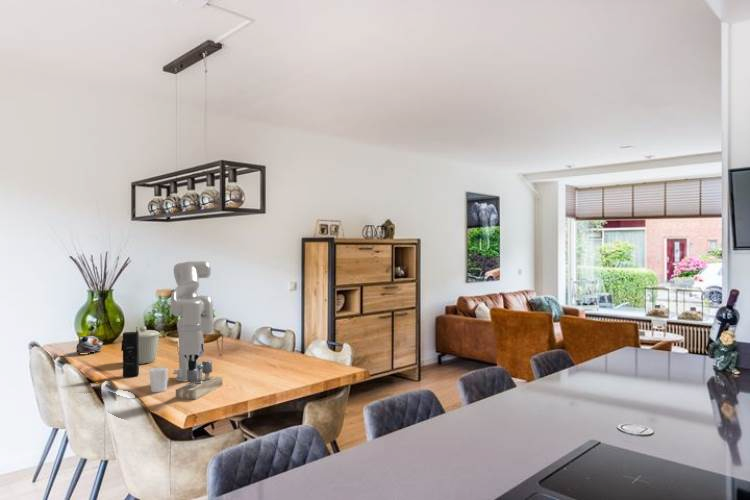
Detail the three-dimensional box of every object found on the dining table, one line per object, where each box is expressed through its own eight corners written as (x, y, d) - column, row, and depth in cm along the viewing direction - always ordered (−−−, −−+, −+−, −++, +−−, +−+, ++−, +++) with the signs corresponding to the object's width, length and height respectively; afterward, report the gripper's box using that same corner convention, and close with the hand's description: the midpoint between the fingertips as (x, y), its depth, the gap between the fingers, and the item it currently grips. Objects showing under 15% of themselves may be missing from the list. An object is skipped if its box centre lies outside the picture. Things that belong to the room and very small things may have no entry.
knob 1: (185, 391, 216) (184, 370, 216) (190, 388, 220) (190, 367, 220) (193, 392, 215) (193, 370, 215) (199, 389, 219) (199, 368, 219)
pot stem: (195, 383, 222) (195, 365, 222) (198, 381, 225) (198, 364, 225) (201, 383, 222) (200, 366, 222) (204, 382, 225) (204, 364, 225)
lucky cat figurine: (104, 349, 318) (108, 332, 314) (97, 360, 308) (100, 343, 303) (80, 344, 315) (83, 326, 310) (71, 355, 304) (74, 337, 299)
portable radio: (120, 378, 248) (119, 329, 248) (123, 375, 254) (122, 327, 254) (137, 376, 250) (136, 328, 250) (139, 373, 256) (139, 326, 256)
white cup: (170, 387, 230) (170, 366, 230) (164, 392, 222) (164, 371, 222) (154, 388, 230) (153, 367, 230) (146, 393, 222) (146, 371, 222)
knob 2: (200, 382, 228) (200, 362, 228) (205, 379, 232) (205, 359, 232) (208, 382, 227) (208, 362, 227) (213, 380, 231) (213, 360, 231)
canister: (159, 364, 278) (159, 327, 277) (124, 367, 271) (123, 329, 271) (160, 357, 294) (160, 323, 294) (127, 360, 288) (127, 325, 288)
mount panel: (175, 398, 214) (175, 389, 214) (203, 384, 235) (203, 376, 235) (196, 399, 212) (195, 390, 212) (222, 385, 233) (222, 377, 233)
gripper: (171, 329, 215) (172, 370, 215) (202, 330, 212) (202, 372, 212) (182, 326, 223) (182, 366, 223) (211, 327, 219) (211, 368, 219)
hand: (192, 369), depth 217 cm, fingers closed
